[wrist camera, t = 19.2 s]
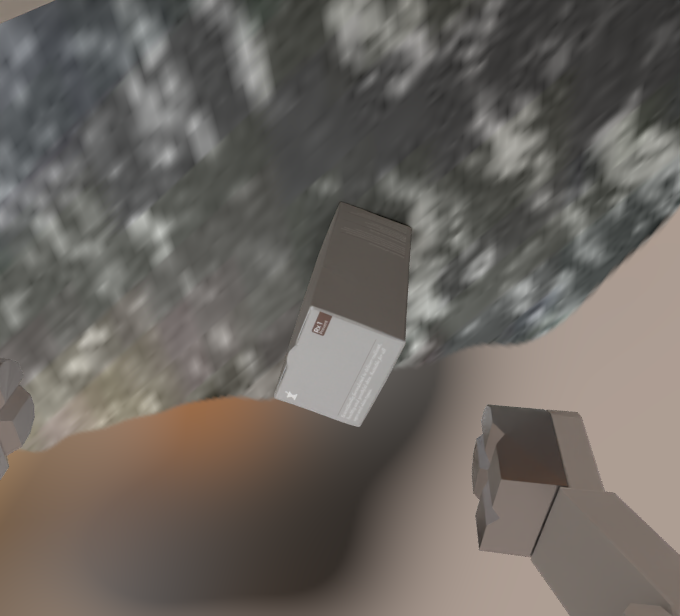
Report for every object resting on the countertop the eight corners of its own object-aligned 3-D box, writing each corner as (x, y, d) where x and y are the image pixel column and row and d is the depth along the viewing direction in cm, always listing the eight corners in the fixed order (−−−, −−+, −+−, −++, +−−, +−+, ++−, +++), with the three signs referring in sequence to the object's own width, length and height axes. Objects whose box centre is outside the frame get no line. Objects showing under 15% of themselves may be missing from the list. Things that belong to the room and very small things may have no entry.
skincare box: (377, 301, 55) (368, 437, 42) (300, 274, 54) (267, 405, 41) (416, 222, 50) (419, 349, 37) (332, 191, 49) (306, 311, 36)
